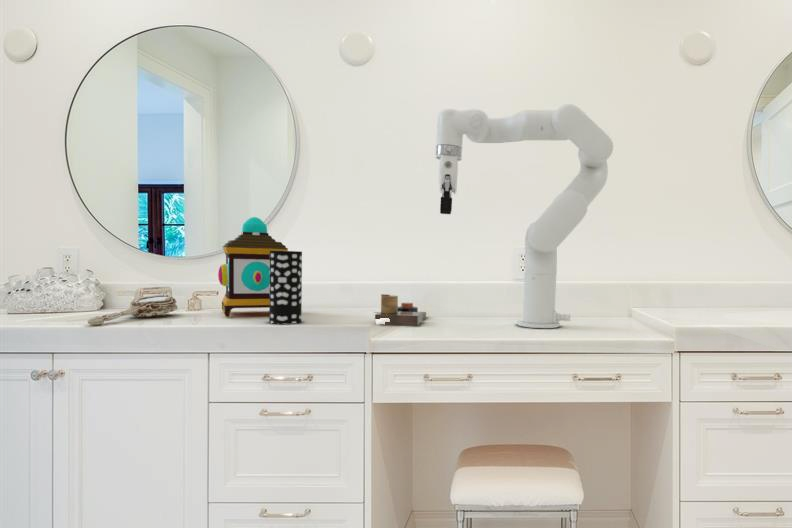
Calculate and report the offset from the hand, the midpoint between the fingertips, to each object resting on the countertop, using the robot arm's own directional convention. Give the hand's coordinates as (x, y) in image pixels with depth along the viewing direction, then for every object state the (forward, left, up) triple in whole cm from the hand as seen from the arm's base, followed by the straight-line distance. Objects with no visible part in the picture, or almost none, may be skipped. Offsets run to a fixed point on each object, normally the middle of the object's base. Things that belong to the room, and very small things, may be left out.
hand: (445, 212), depth 161 cm
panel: (+12, +3, -33) cm, 35 cm away
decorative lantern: (+59, -9, -33) cm, 68 cm away
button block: (+12, -10, -33) cm, 36 cm away
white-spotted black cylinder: (+43, +8, -33) cm, 55 cm away
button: (+12, -10, -30) cm, 34 cm away
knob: (+15, +3, -30) cm, 34 cm away
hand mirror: (+83, +11, -33) cm, 90 cm away
